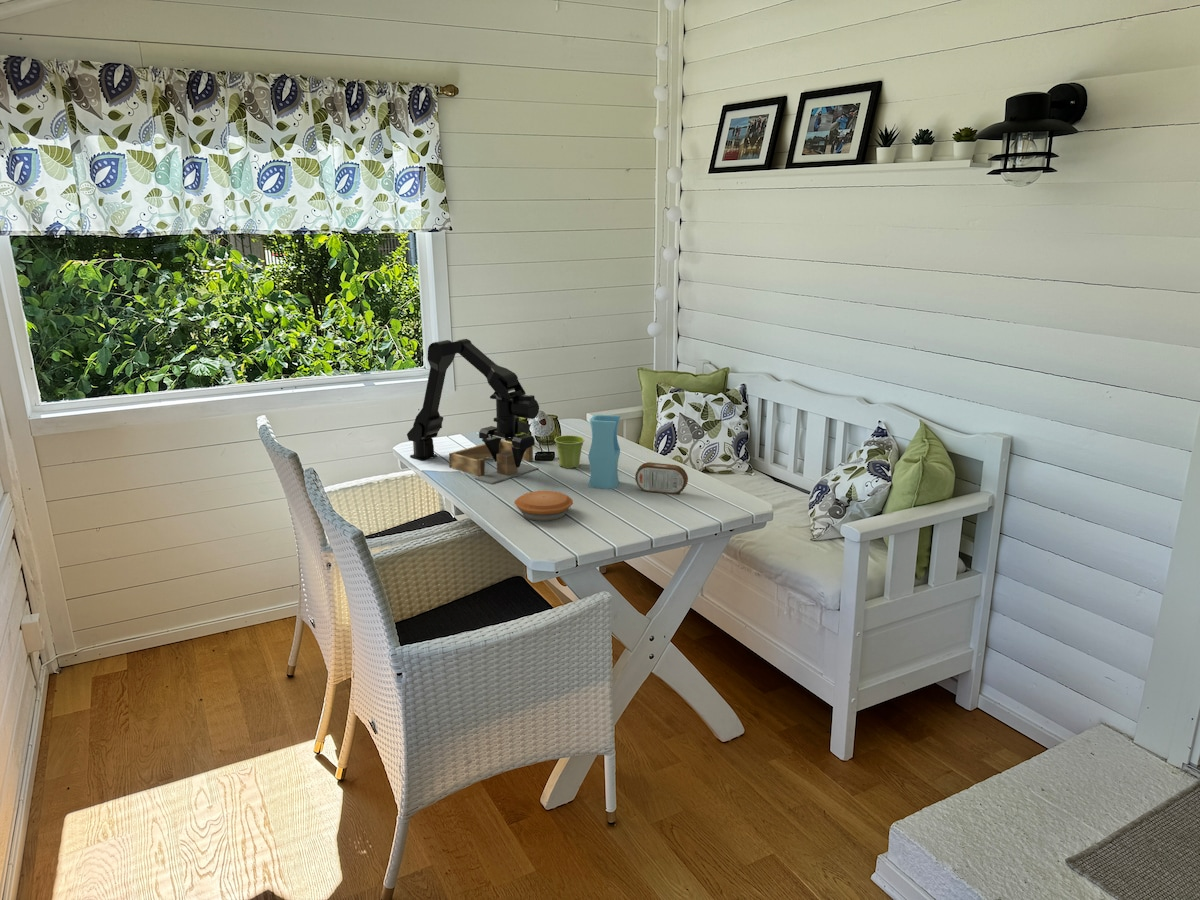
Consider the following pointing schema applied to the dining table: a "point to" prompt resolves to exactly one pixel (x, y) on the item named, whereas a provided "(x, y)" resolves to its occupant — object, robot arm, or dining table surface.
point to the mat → (497, 477)
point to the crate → (480, 457)
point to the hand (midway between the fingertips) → (507, 464)
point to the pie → (544, 505)
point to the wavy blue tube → (604, 452)
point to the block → (506, 463)
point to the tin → (661, 478)
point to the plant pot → (569, 450)
